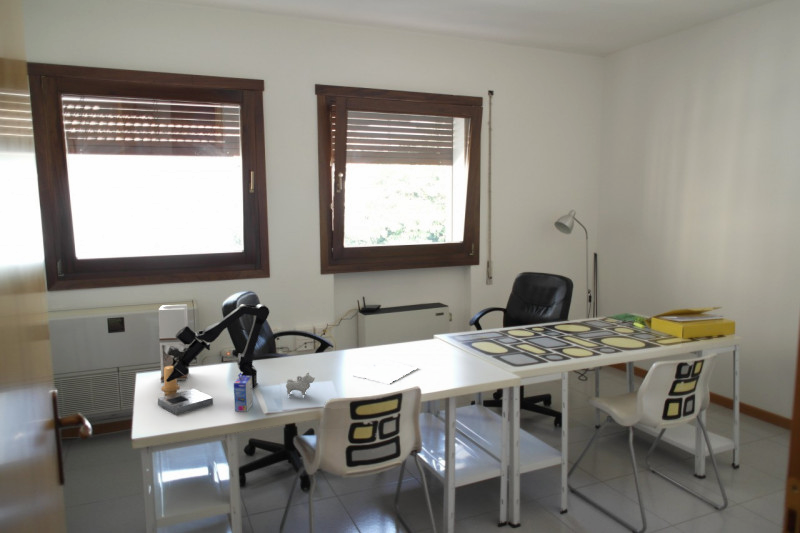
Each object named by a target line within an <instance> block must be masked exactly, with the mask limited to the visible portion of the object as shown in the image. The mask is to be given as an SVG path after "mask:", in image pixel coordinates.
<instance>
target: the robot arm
mask: <svg viewBox="0 0 800 533" xmlns="http://www.w3.org/2000/svg"><path fill="white" fill-rule="evenodd" d="M244 315H249V316H253V322H252V326H251V328H250V332H249V335H248V337H247V342H246V345H245V348H244V350H243V351H242V353H238V355H237V359H236V365H237V368H238V369H239V371H240V373H241V374H242V375H243V376H252V390H254V389H255V388H256V387H257V386H258V385H259V383H257V381H258V378H257V377H258V375H257V372H258V371H257V369H256V368H255V366H254V365H253V362H254V352H255V348H256V346H257V342H258V341H259V340H258V339H259V335H260V333H261V331H262V328H263V327H262V326H263V325H264V324H265V322H266V320H267V319H268V317H269V315H270V309H269V308H268V307H267V305H265V304H263V303H258V304H244V303H241V304H240V305H239V306H238V307H237V308H235V309H234V310H232V311H231V312H230V313H228V314H227V315H226V316H224V317H223V318H221V319H220V320H219V321H217V322H216V323H213V324H210V325H209V326H207V327H205V328H204V329H202V330H198V331H194V330H193V329H191V327H190V326H189V325H188V326H186V327H184V328H183V329H181V330H180V331H179V332H178V333H177V334H176V336H175V337H176V338H177V339H178V340H180V341H181V342H182V343H183V344H185V345H186V344H188V348H184V349H183V350H182V349H180V348H177V347H174V346H170V348H169V350H168V352H167V353H168V355H170V356H173V363H172V365H171V366H173V371H172V373H171V374H170V375H169V377H168V378H167V380H166V381H167V382H169V381H172V380H174V379H176V378H179V377H181V376H184V375H185V376H186V375H187V374H188V373H189V374H190V365H191V363H192V362H193V361H194V360H197V357H198V356H199V355H200V354H201V353H202V352H203V351H204V350H205V349H206V350H207V351H210V350H211V348H210V347H211V343H213V342H215V341H216V340H217V338H219V337H220V335H221V334H222V333H223V331H224V330H225V329H227V328H228V327H229V326H231V325H232V324H234V323H235V322H236V321H237V320H239V319H240V318H241V317H243V316H244ZM188 367H189V368H188Z"/></svg>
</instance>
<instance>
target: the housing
mask: <svg viewBox="0 0 800 533" xmlns="http://www.w3.org/2000/svg"><path fill="white" fill-rule="evenodd" d="M213 400H214V398H213V397H212V396H211V395H208V394H206V393H204V392H202V391H199V390H198V389H196V388H190V389H186V390H183V391H177V393H175V394H171V395H167V396H165V395H164V396H160V397H157V405H158V406H159V407H161V408H162V409H165V411H168V412H170V413H172V414H173V415H174V416H179V415H182V414H185V413H189V412H192V411H195V410H199V409H202V408H206V407H209V406H212V405H214V401H213Z"/></svg>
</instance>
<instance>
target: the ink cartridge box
mask: <svg viewBox="0 0 800 533" xmlns="http://www.w3.org/2000/svg"><path fill="white" fill-rule="evenodd" d="M237 376H238V378H237V379H236V380H235V381H234V382H233V396H234V397H233V398H234V399H233V401H234V412H248V411H249V409H250V407H251V406H252V404H253V401H254V400H253V399H254V397H253V395H254V394H253V389H252V376H243V375H242V372H240V373H239V374H238V375H237Z"/></svg>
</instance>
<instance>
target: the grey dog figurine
mask: <svg viewBox="0 0 800 533" xmlns="http://www.w3.org/2000/svg"><path fill="white" fill-rule="evenodd" d="M315 380H316V377H313V376H312V375H310V372H306V373H305V374H304V375H302V376H301V375H298V376H296V380H294V379H290V378H289V379H287V381H286V385H285V388H286V392H287V395H288V394H290V392H291V391H292V392H293V391H297V392H298V391H299V392H301V396H302V395H305V392H306V393H307V390H309V389H310V387H311V384H312V383H313V384H314V381H315ZM290 395H291V394H290ZM305 396H306V395H305Z"/></svg>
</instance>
